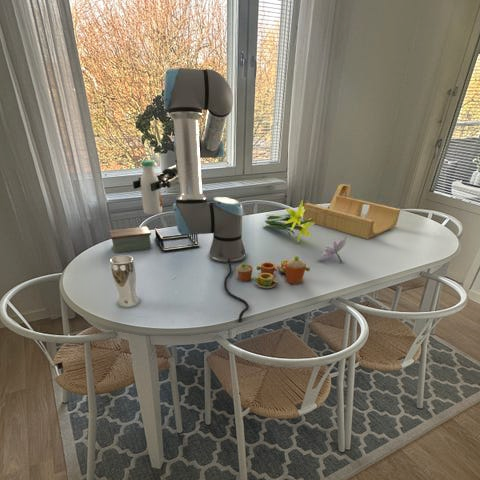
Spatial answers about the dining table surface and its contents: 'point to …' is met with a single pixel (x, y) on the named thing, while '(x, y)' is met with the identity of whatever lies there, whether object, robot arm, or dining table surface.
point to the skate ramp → (352, 215)
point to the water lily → (337, 247)
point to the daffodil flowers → (290, 221)
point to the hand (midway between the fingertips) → (142, 186)
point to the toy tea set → (289, 267)
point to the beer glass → (125, 279)
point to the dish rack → (178, 236)
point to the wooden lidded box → (130, 239)
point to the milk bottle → (150, 198)
